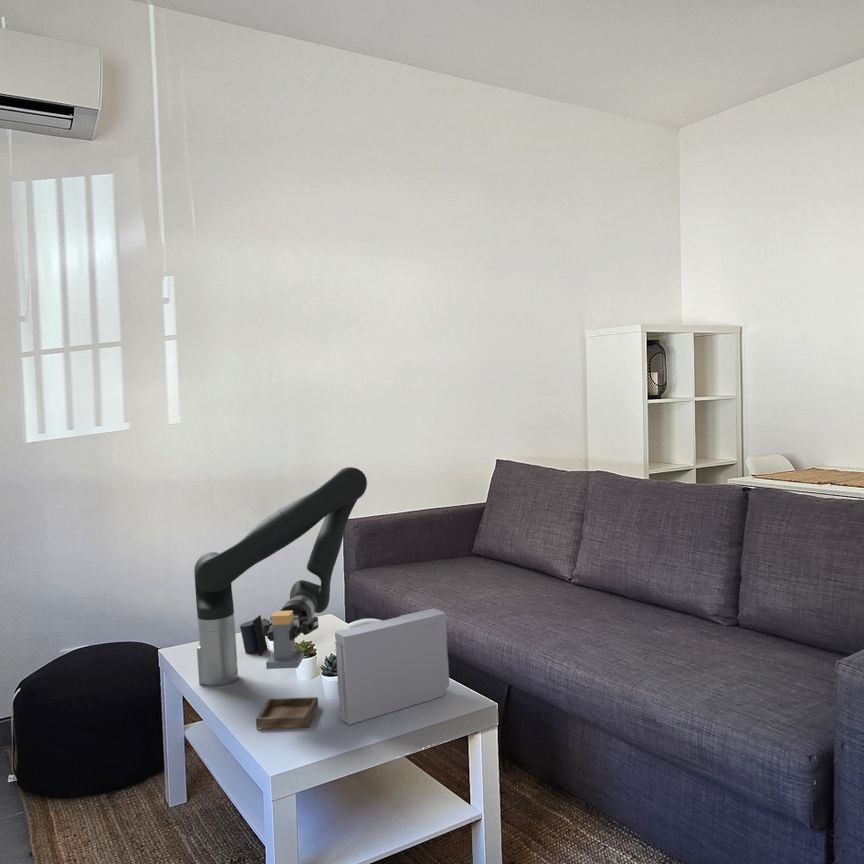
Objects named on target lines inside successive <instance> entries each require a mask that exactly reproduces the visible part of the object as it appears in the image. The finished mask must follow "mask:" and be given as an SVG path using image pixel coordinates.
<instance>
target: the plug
mask: <svg viewBox="0 0 864 864" xmlns="http://www.w3.org/2000/svg"><path fill="white" fill-rule="evenodd" d="M271 621H272V631H273V641H272V642H273V643H272V645H273V652H272V653H271V655H270V656H269V658H268V659H267V661H266V662H265V665H266V666H265V667H266V670H274V669H275V670H277V669H280V670H281V669H297V668H299V666H300V664H301V663H302V661H303V659H304V658H305V657H304V656H305V654H304V652H305V651H304V650H296V640H295V639H296V638H294V640H290V638H289V631H290V630H291V628H292V627H293V626H294V618H293V610H291V611H280V610H275V611H274V612H273V614H272V615H271Z"/></svg>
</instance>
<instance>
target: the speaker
mask: <svg viewBox="0 0 864 864" xmlns="http://www.w3.org/2000/svg"><path fill="white" fill-rule="evenodd" d="M239 629H240V633H241V638H242V642H243V648H244V653H246V654H253V653H256V652H258V653H259V657H260V656H263V654H265V653H266V651H268V645H267V644H268V643H267V640H266V639H267V638H266V636H264V634H263V630H262V615H258V616H256V617H255V618H254V619H253V620H249V621H246V622H243V623H241V624H239Z"/></svg>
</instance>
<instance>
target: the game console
mask: <svg viewBox="0 0 864 864" xmlns="http://www.w3.org/2000/svg"><path fill="white" fill-rule="evenodd" d="M447 629H448V628H447V613H446V612H445V611H442V610H440V609H436V608H430V609H426V610H419V611H416V612H412V613H407V614H402V615H399V616H398V617H393V618H388V619H383V620H382V621H379V622H375V623H371V624H366V625H362V626H358V627H353V628H349V629H348V628H345V629H337V630H336V631H335V632H334V638H335V641H334V642H335V643H334V644H335V655H336V659H335V660H336V672H337V676H336V677H337V691H338V692H337V693H338V698H339V701H338V703H339V705H338V706H339V707H338V711H339V719H340V720H341V721H343V722H344V723H346V724H347V725H349V726H350V725H353V724H356V723H361V722H363V721H365V720H370V719H372V718H373V719H374V718H377V717H380V716H383V715H385V714H389V713H393V712H395V711H398V710H399V711H400V710H402V709H405V708H409V707H412V705H413V706H416V705H418V704H422V702H423V703H425V701H426V702H430V701H432V700H435V698H436V699H438V697H439V698H441V696H442V697H443V696H444V695H445V693H446V691H447V689H448V687H449V685H450V673H449V672H450V671H449V670H450V669H449V654H448V652H449V651H448V649H449V648H448V633H447V631H448V630H447ZM415 704H416V705H415Z"/></svg>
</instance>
